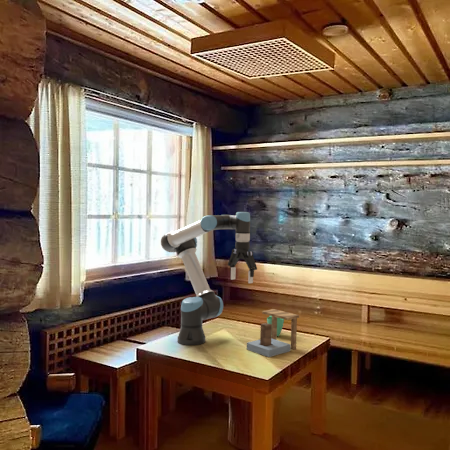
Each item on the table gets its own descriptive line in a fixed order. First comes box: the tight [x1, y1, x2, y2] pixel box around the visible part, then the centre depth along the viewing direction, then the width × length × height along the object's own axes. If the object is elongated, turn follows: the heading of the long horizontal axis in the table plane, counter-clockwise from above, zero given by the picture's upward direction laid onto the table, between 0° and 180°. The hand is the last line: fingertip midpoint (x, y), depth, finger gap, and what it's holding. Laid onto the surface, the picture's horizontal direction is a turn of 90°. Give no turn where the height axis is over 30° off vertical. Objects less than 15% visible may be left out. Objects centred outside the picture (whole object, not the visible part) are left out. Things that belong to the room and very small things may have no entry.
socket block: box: [246, 338, 291, 358], centre depth 257 cm, size 16×16×4 cm
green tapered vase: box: [266, 315, 285, 337], centre depth 287 cm, size 15×10×10 cm
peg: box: [259, 322, 272, 346], centre depth 255 cm, size 4×4×14 cm
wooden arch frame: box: [261, 308, 300, 351], centre depth 262 cm, size 18×9×18 cm, turn 41°
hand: (241, 281), depth 262 cm, fingers open, 13 cm apart
